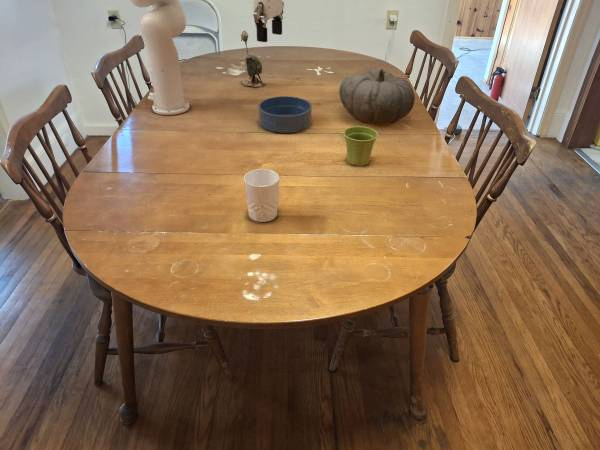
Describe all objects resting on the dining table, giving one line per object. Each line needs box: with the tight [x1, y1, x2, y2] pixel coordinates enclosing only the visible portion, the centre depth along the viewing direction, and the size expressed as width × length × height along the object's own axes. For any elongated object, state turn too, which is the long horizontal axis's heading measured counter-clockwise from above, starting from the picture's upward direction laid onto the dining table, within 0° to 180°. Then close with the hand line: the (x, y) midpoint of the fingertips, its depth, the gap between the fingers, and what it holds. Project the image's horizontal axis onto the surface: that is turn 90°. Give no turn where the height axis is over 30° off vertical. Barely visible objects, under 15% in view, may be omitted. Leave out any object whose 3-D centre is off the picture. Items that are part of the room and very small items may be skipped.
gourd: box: [338, 68, 416, 126], centre depth 152 cm, size 25×25×17 cm
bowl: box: [257, 95, 313, 134], centre depth 150 cm, size 17×17×6 cm
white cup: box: [243, 168, 280, 223], centre depth 106 cm, size 8×8×10 cm
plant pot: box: [342, 125, 379, 167], centre depth 128 cm, size 9×9×9 cm
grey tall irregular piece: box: [240, 30, 266, 88], centre depth 175 cm, size 8×11×20 cm
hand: (269, 37), depth 138 cm, fingers open, 9 cm apart
